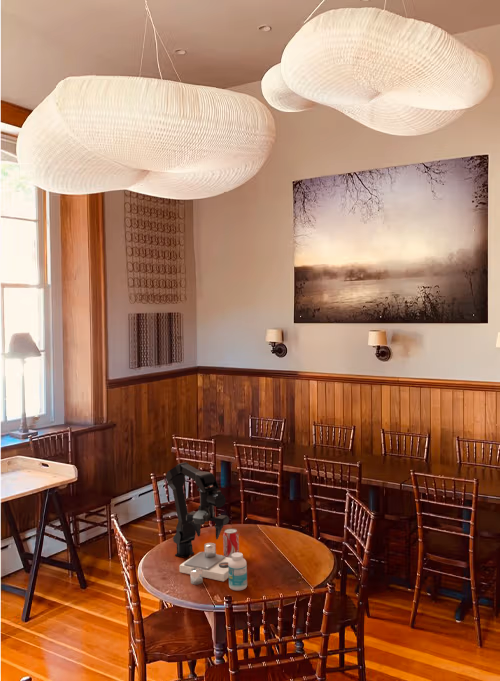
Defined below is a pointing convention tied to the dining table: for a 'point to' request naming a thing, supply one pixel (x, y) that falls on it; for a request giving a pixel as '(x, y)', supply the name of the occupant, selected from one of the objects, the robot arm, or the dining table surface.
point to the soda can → (230, 542)
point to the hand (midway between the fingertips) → (207, 537)
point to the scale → (208, 566)
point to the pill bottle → (237, 572)
